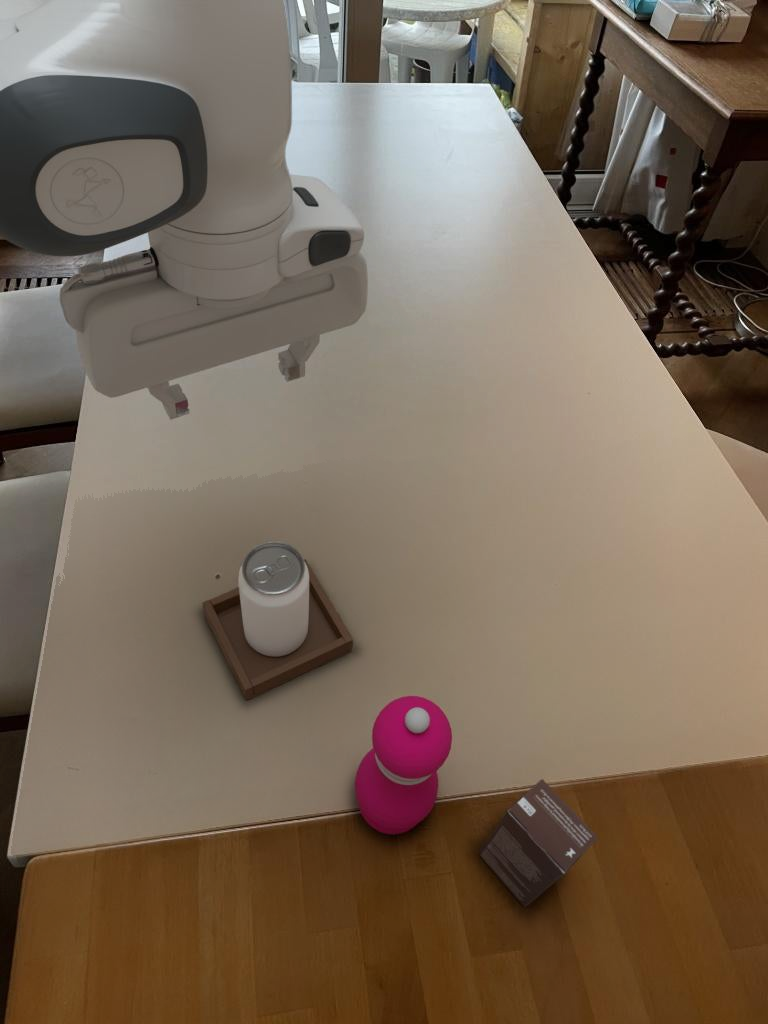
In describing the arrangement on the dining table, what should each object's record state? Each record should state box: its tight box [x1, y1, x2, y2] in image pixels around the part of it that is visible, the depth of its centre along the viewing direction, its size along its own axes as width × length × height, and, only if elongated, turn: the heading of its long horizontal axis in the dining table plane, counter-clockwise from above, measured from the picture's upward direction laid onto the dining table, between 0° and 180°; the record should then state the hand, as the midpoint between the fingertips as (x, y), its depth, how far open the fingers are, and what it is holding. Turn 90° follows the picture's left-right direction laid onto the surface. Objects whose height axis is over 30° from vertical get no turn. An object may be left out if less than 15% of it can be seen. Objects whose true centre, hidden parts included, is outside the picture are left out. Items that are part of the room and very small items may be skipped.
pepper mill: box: [354, 695, 453, 835], centre depth 63 cm, size 7×7×20 cm
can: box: [237, 540, 309, 657], centre depth 75 cm, size 6×6×12 cm
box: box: [477, 778, 598, 908], centre depth 64 cm, size 6×4×12 cm
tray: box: [201, 559, 354, 701], centre depth 79 cm, size 12×11×2 cm
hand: (235, 392), depth 60 cm, fingers open, 8 cm apart
